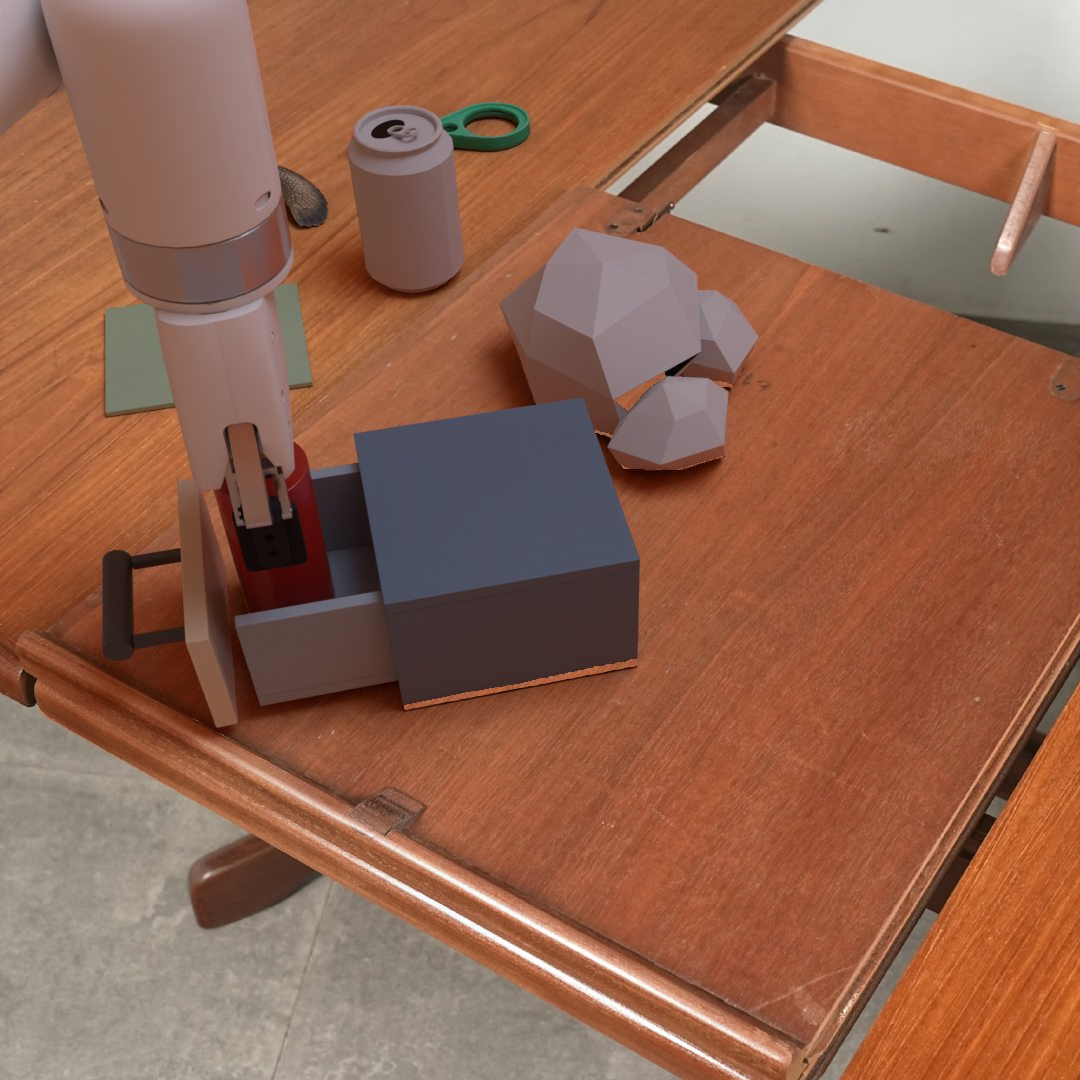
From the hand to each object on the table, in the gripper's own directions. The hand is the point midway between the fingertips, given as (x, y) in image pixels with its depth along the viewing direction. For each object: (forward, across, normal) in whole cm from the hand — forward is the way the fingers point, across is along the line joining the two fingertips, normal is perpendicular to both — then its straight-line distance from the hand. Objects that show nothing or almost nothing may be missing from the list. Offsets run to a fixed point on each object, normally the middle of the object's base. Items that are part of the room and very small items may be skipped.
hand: (272, 523), depth 74 cm
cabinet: (+9, 0, +12) cm, 15 cm away
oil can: (+6, 0, 0) cm, 6 cm away
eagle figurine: (+10, -46, +2) cm, 47 cm away
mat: (+10, -29, -4) cm, 31 cm away
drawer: (+8, 0, -1) cm, 9 cm away
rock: (+9, -17, +24) cm, 31 cm away
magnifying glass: (+10, -53, +17) cm, 56 cm away
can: (+10, -35, +12) cm, 38 cm away
